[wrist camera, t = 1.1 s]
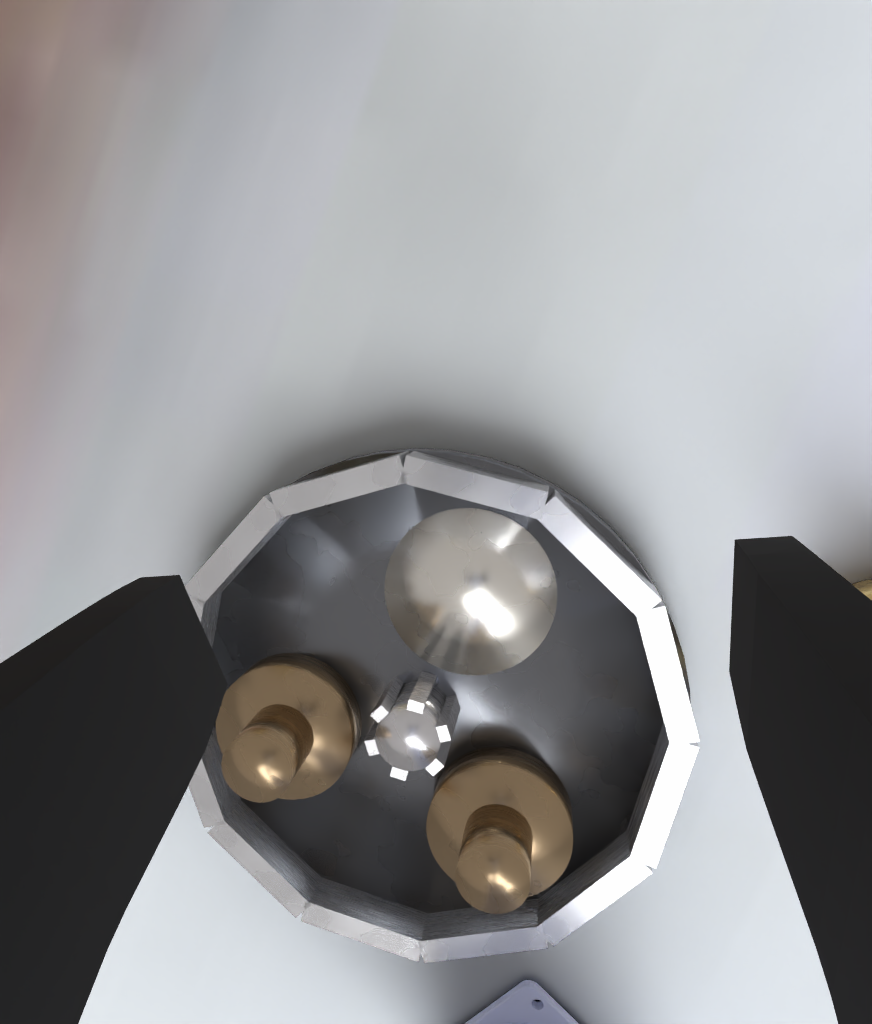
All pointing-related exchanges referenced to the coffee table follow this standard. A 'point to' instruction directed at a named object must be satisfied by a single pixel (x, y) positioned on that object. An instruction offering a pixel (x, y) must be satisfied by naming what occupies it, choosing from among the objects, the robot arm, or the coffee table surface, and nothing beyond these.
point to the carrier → (440, 705)
